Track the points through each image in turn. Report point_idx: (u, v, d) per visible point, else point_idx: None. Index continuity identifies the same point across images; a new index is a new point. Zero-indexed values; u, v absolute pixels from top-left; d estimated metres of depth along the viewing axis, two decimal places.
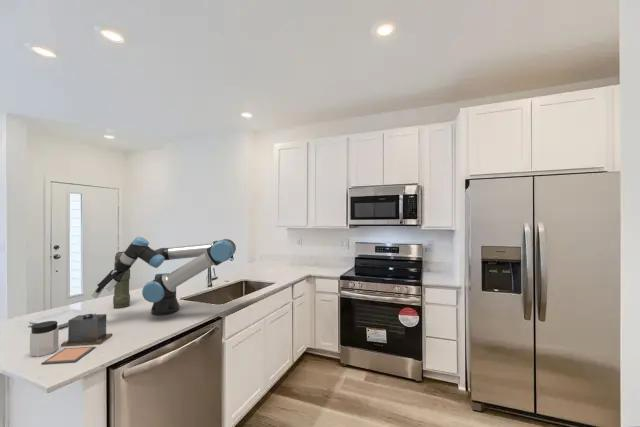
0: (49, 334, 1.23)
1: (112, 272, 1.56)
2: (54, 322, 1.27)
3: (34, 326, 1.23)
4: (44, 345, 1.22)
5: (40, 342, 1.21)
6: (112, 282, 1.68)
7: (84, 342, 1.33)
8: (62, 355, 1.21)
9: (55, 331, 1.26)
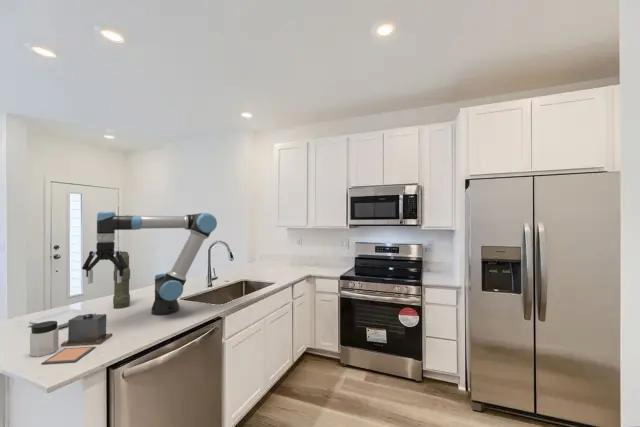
0: (49, 334, 1.23)
1: (119, 252, 1.51)
2: (54, 322, 1.27)
3: (34, 326, 1.23)
4: (44, 345, 1.22)
5: (40, 342, 1.21)
6: (90, 273, 1.49)
7: (84, 342, 1.33)
8: (62, 355, 1.21)
9: (55, 331, 1.26)
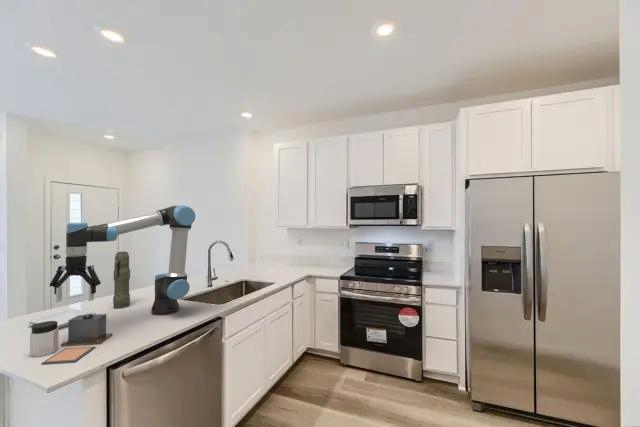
0: (49, 334, 1.23)
1: (91, 267, 1.37)
2: (54, 322, 1.27)
3: (34, 326, 1.23)
4: (44, 345, 1.22)
5: (40, 342, 1.21)
6: (59, 290, 1.35)
7: (84, 342, 1.33)
8: (62, 355, 1.21)
9: (55, 331, 1.26)
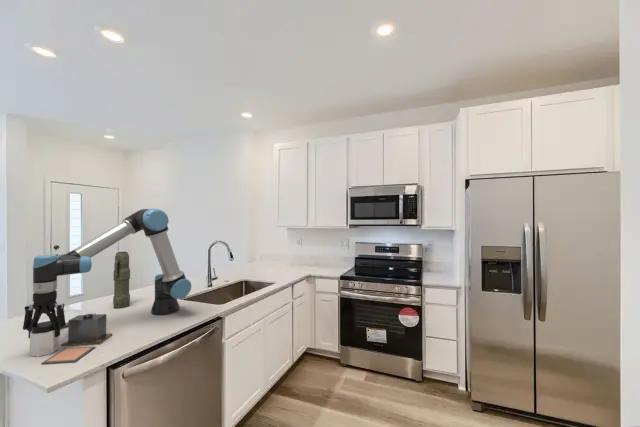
0: (49, 334, 1.23)
1: (62, 306, 1.26)
2: None
3: (34, 326, 1.23)
4: (44, 345, 1.22)
5: (40, 342, 1.21)
6: None
7: (84, 342, 1.33)
8: (62, 355, 1.21)
9: None
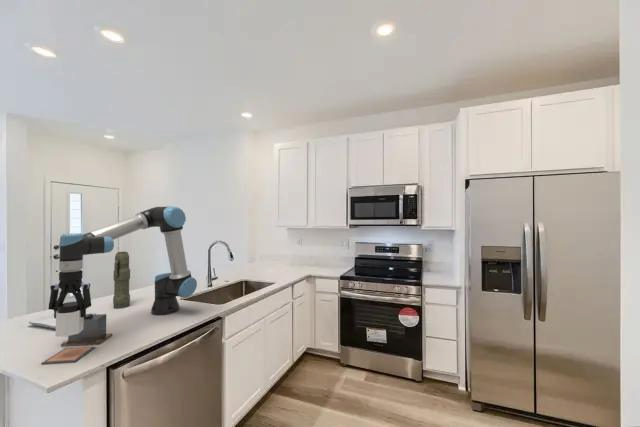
0: (75, 314, 1.20)
1: (88, 286, 1.23)
2: None
3: (60, 305, 1.19)
4: (70, 325, 1.19)
5: (66, 322, 1.18)
6: None
7: (84, 342, 1.33)
8: (62, 355, 1.21)
9: None
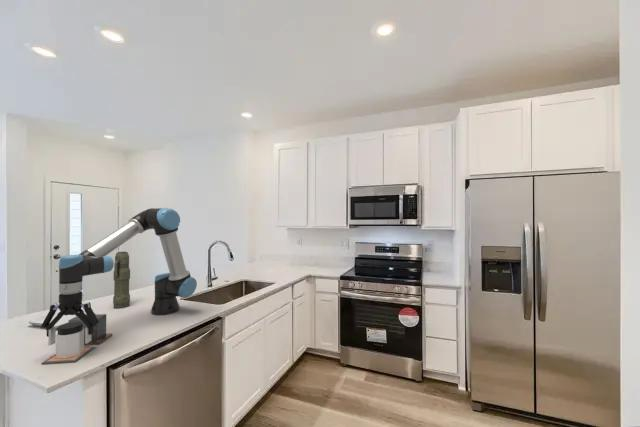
0: (75, 336, 1.20)
1: (88, 305, 1.23)
2: (80, 323, 1.24)
3: (60, 327, 1.19)
4: (70, 346, 1.19)
5: (66, 344, 1.18)
6: (52, 332, 1.21)
7: (84, 342, 1.33)
8: None
9: (81, 332, 1.23)
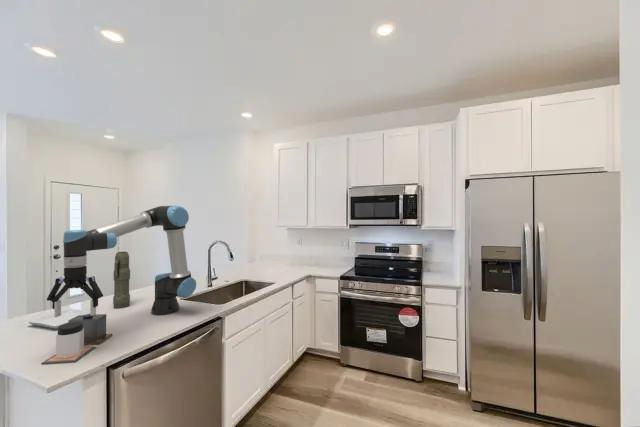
0: (75, 336, 1.20)
1: (92, 278, 1.26)
2: (80, 323, 1.24)
3: (60, 327, 1.19)
4: (70, 346, 1.19)
5: (66, 344, 1.18)
6: (57, 304, 1.24)
7: (84, 342, 1.33)
8: None
9: (81, 332, 1.23)
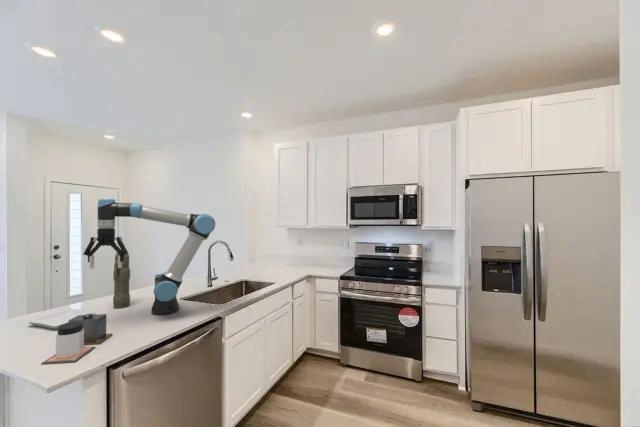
0: (75, 336, 1.20)
1: (120, 238, 1.55)
2: (80, 323, 1.24)
3: (60, 327, 1.19)
4: (70, 346, 1.19)
5: (66, 344, 1.18)
6: (92, 258, 1.53)
7: (84, 342, 1.33)
8: None
9: (81, 332, 1.23)
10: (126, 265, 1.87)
